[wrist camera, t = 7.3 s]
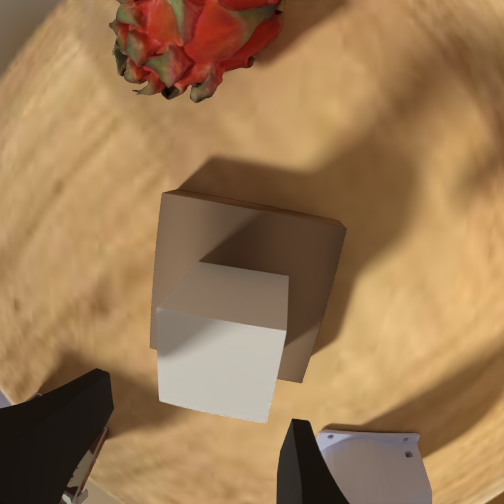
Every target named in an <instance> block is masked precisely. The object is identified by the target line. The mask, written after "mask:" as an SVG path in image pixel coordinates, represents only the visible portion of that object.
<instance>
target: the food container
mask: <svg viewBox="0 0 504 504" xmlns="http://www.w3.org/2000/svg"><path fill="white" fill-rule="evenodd" d="M40 396H42V394H41V393H39V392H36V393H35V394H34V395H33V396H31V397H30V398H29V399H28V400H26V401H29V400H32V399H35V398H37V397H40ZM26 401H25V402H26ZM107 435H108V428H107V427H104V428H103V430H102V431H101V433H100V434H99V436H98V437H97V439H96V440H95V442H94V443H93V444H92V446H91V447H90V449H89V450H88V451H87V453H86V454H85V456H84V457H83V459H82V460H81V461H80V463H79V464H78V466H77V468H76V469H75V471H74V473H73V475H72V477H71V479H70V481H69V483H68V485H67V487H66V489H65V491H64V494H63V496H62V498H61V500H60V503H59V504H81V503H82V502H83V501H84V500H85V499H86V498H87V497H88V490H87V489H86V490H85V491H84V492H82V490H83V488H84V485H85V483H86V481H87V479H88V477H89V474H90V472H91V470H92V468H93V465H94V463H95V461H96V459H97V457H98V455H99V452H100V450H101V448H102V446H103V444H104V442H105V440H106V438H107ZM81 492H82V493H81Z"/></svg>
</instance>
